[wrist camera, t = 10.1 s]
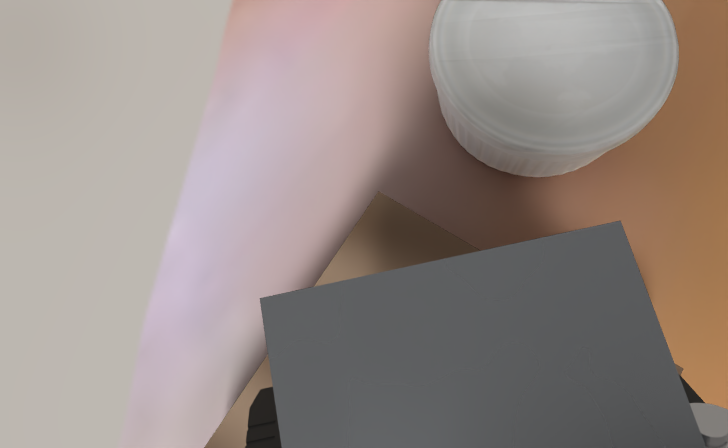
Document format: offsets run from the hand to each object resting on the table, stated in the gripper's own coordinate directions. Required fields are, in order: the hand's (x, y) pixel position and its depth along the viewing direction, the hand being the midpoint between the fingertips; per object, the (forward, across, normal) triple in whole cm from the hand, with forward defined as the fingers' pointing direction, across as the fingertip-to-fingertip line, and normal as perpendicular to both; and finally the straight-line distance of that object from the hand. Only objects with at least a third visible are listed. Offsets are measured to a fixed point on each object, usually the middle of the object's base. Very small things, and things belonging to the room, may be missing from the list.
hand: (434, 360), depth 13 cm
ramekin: (+19, -9, 0) cm, 21 cm away
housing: (+2, 0, +5) cm, 5 cm away
